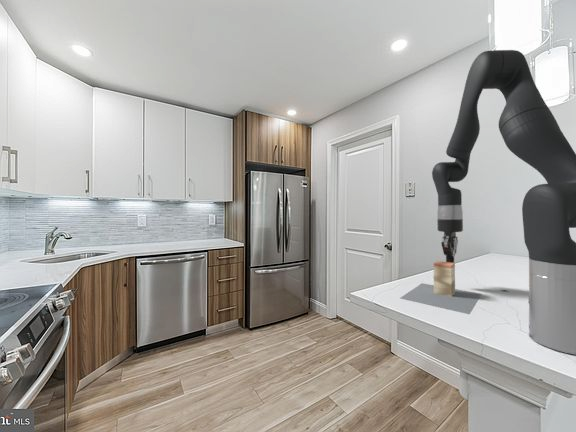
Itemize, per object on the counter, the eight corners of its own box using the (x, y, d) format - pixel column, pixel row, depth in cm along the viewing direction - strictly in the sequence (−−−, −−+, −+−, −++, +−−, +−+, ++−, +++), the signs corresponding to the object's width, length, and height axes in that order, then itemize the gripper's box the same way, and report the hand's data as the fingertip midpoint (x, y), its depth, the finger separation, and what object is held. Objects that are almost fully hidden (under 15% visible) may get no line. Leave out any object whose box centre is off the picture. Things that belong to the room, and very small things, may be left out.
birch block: (455, 292, 82) (454, 263, 82) (451, 296, 78) (451, 265, 78) (438, 289, 85) (437, 261, 85) (433, 293, 82) (433, 263, 82)
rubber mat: (481, 294, 80) (481, 293, 80) (469, 315, 65) (469, 314, 65) (421, 284, 93) (421, 283, 93) (399, 299, 78) (399, 298, 78)
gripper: (458, 218, 80) (458, 271, 80) (466, 217, 89) (466, 265, 89) (432, 218, 85) (433, 268, 85) (442, 217, 94) (443, 262, 95)
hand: (450, 266), depth 87 cm, fingers closed
